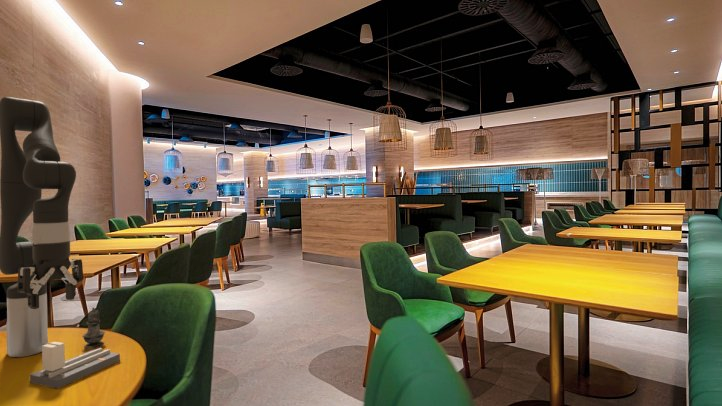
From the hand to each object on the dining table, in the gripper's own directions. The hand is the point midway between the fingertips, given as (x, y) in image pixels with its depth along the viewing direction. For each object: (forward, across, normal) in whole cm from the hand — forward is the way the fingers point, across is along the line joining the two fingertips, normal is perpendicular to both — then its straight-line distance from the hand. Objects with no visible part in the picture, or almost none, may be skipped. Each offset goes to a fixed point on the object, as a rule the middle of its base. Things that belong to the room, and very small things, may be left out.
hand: (52, 303), depth 101 cm
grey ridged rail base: (+20, -6, 0) cm, 21 cm away
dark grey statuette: (+20, -20, -13) cm, 31 cm away
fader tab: (+18, 0, 0) cm, 18 cm away
